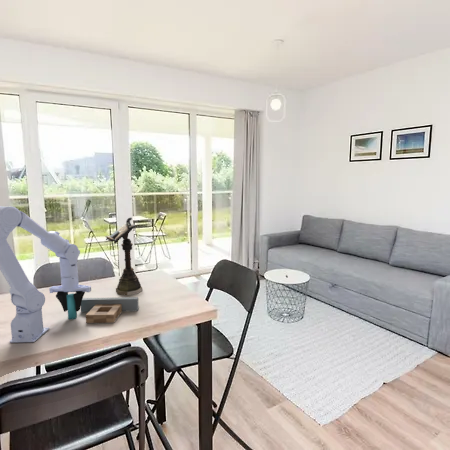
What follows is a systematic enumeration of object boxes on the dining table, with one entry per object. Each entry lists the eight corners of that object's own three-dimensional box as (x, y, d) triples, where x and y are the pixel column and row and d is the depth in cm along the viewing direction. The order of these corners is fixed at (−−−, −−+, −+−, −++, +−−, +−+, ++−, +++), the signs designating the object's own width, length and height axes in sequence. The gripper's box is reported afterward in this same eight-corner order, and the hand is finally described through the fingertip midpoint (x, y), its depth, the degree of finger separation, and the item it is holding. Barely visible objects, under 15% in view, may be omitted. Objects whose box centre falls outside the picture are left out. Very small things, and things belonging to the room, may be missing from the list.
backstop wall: (137, 311, 126) (136, 298, 126) (81, 312, 126) (80, 299, 125) (140, 306, 131) (139, 295, 130) (85, 307, 130) (84, 295, 129)
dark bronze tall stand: (110, 300, 138) (105, 219, 133) (102, 291, 148) (98, 217, 143) (147, 292, 147) (144, 217, 142) (137, 285, 158) (134, 214, 153)
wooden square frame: (114, 322, 116) (113, 314, 116) (86, 322, 116) (85, 315, 115) (121, 311, 126) (121, 304, 126) (96, 311, 126) (95, 304, 125)
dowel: (75, 319, 119) (73, 296, 118) (66, 319, 119) (65, 296, 118) (78, 316, 122) (76, 293, 121) (70, 316, 122) (68, 293, 121)
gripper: (93, 272, 122) (95, 305, 124) (54, 272, 122) (57, 306, 124) (86, 277, 115) (88, 313, 117) (45, 278, 115) (48, 314, 117)
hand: (72, 310), depth 120 cm, fingers open, 4 cm apart
